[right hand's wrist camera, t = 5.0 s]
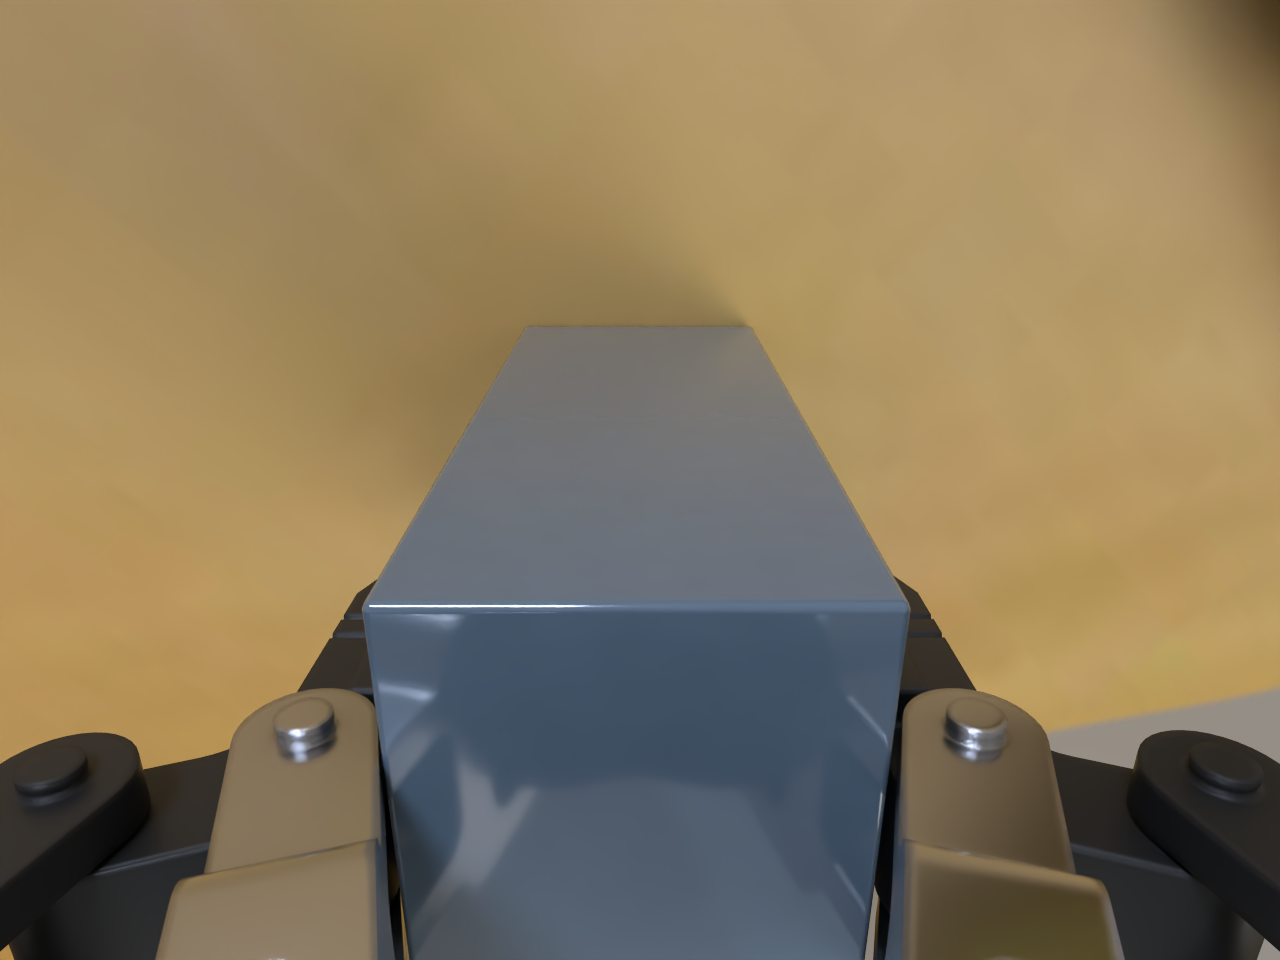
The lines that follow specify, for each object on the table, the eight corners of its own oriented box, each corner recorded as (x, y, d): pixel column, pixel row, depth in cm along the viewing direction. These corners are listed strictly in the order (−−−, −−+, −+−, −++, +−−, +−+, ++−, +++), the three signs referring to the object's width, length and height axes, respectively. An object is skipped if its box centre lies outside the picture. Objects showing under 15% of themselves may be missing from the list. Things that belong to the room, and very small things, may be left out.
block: (536, 580, 18) (422, 1078, 9) (524, 325, 16) (357, 604, 7) (740, 579, 18) (851, 1078, 9) (752, 325, 16) (914, 605, 7)
